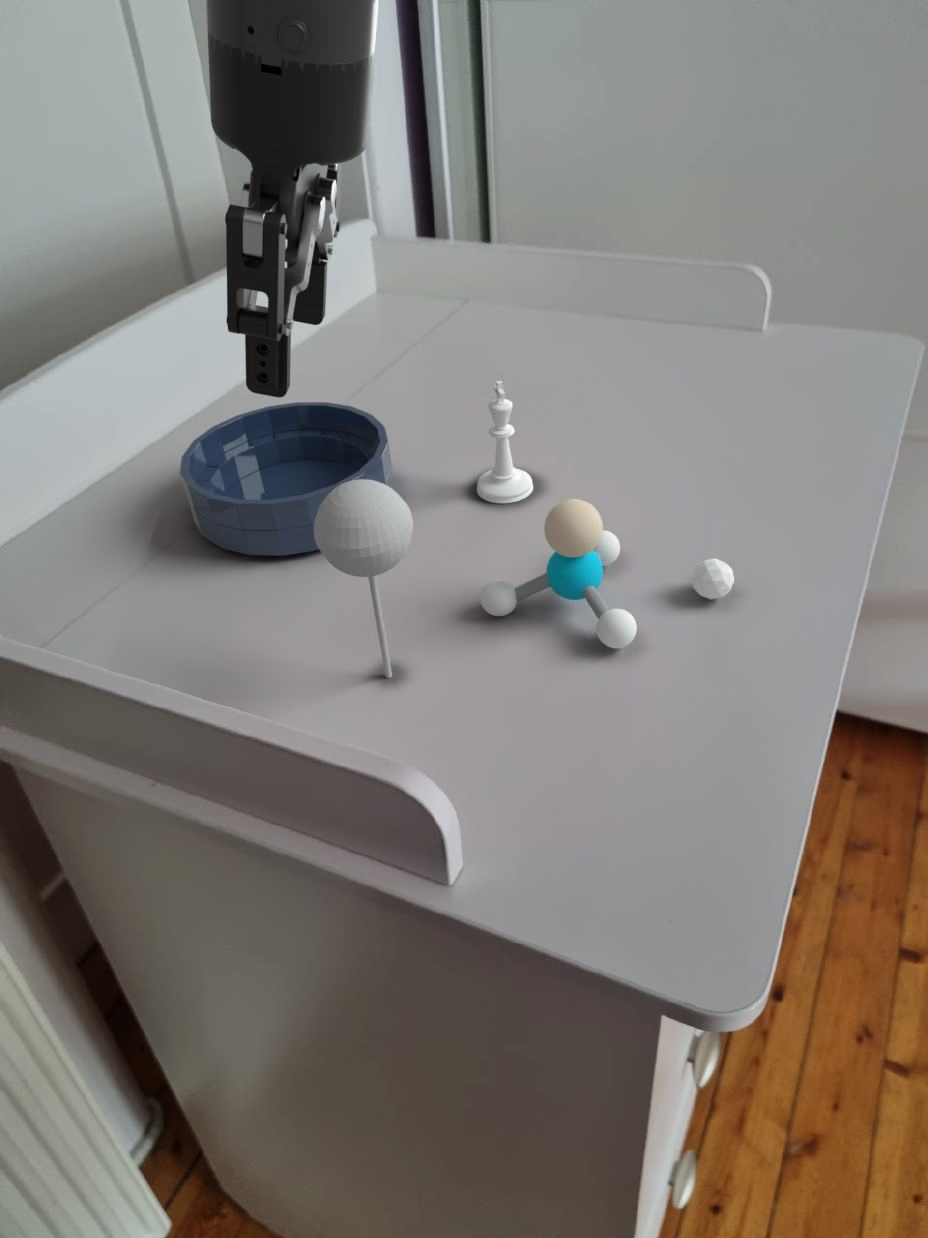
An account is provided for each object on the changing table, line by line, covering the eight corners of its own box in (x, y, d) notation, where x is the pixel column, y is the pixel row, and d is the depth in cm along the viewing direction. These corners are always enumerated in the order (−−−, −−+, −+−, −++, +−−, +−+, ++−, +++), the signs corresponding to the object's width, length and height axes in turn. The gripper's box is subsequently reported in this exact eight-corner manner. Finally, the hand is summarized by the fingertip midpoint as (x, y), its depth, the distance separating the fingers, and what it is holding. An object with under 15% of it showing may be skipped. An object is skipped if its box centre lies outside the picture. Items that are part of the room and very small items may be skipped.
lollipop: (379, 637, 68) (347, 452, 58) (448, 661, 65) (427, 471, 56) (327, 690, 64) (284, 501, 54) (399, 718, 61) (366, 524, 52)
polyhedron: (696, 610, 68) (700, 576, 66) (686, 585, 70) (689, 551, 68) (736, 606, 68) (740, 572, 66) (724, 581, 70) (728, 548, 68)
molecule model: (677, 643, 65) (686, 537, 59) (513, 683, 63) (506, 577, 58) (611, 550, 74) (614, 450, 69) (466, 582, 72) (457, 482, 67)
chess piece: (486, 508, 80) (479, 400, 74) (470, 481, 84) (461, 375, 78) (541, 496, 81) (538, 388, 75) (522, 469, 85) (518, 364, 78)
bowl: (277, 588, 73) (262, 529, 70) (158, 514, 83) (140, 459, 80) (435, 493, 83) (429, 437, 79) (311, 437, 93) (301, 385, 89)
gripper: (254, -16, 48) (257, 289, 59) (155, 51, 37) (181, 406, 49) (400, 12, 48) (375, 311, 59) (341, 87, 38) (324, 433, 49)
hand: (287, 354), depth 54 cm, fingers open, 8 cm apart
